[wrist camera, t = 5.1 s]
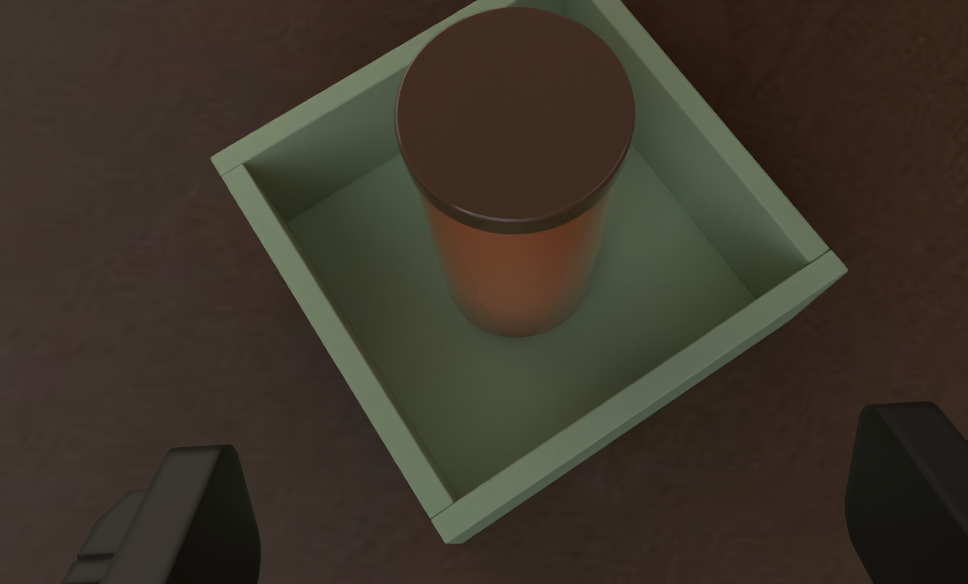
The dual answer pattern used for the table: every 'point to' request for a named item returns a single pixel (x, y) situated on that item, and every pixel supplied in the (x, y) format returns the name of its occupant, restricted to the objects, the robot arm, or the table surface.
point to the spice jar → (515, 160)
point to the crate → (543, 357)
